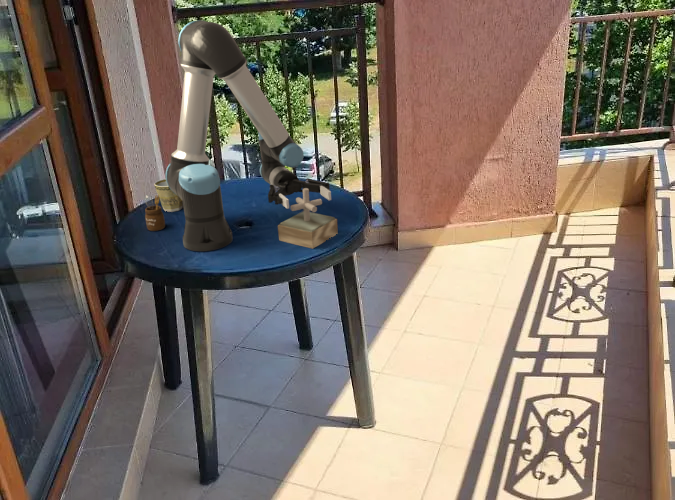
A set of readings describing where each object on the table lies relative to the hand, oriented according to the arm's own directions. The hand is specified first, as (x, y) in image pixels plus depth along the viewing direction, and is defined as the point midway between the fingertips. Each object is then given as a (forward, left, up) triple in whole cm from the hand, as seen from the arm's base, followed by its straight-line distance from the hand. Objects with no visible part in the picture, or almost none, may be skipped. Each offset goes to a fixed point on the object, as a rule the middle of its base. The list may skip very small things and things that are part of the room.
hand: (309, 200), depth 191 cm
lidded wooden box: (+1, +2, -13) cm, 13 cm away
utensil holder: (-17, +52, -13) cm, 56 cm away
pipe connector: (+1, +2, -8) cm, 8 cm away
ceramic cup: (-1, +60, -13) cm, 61 cm away
